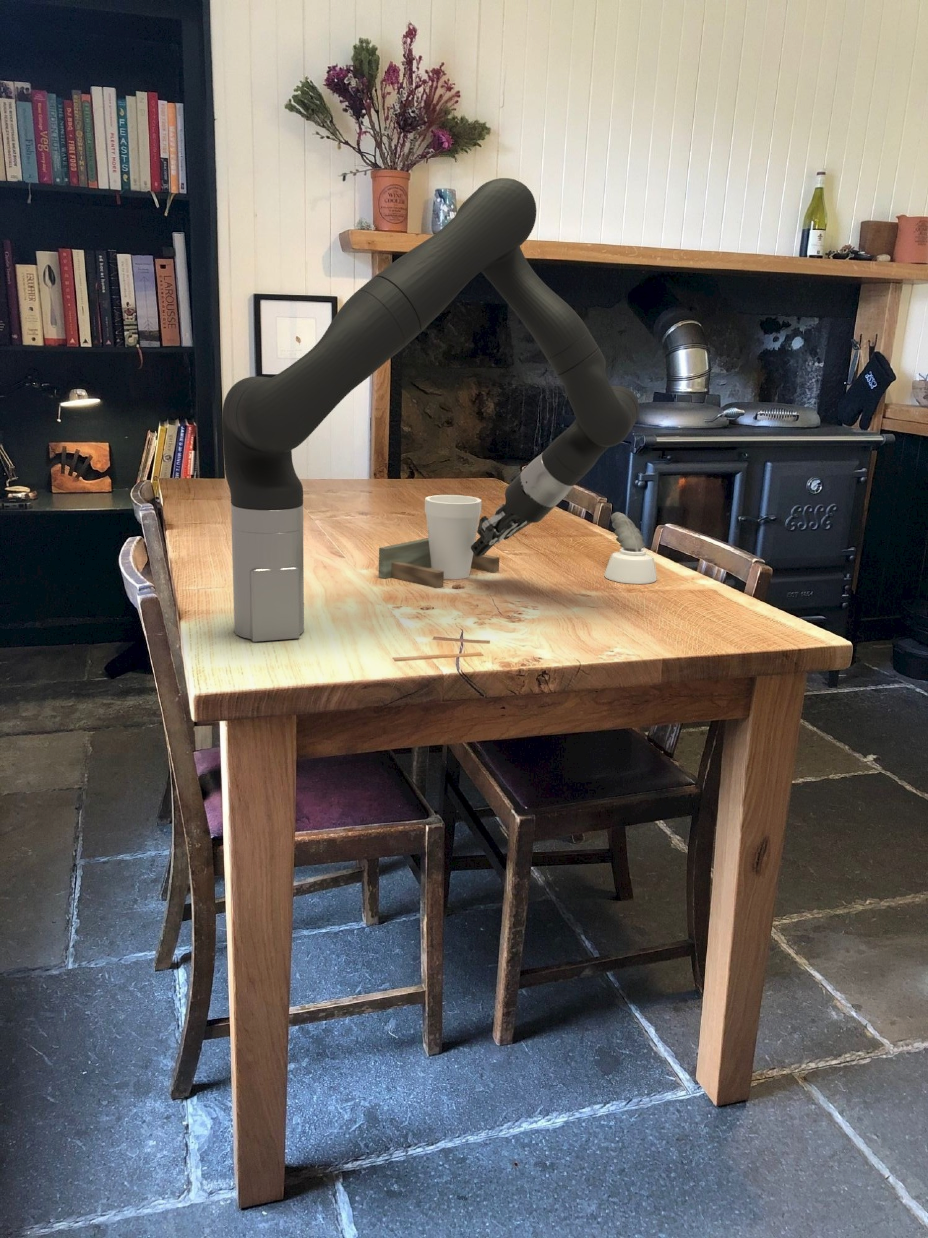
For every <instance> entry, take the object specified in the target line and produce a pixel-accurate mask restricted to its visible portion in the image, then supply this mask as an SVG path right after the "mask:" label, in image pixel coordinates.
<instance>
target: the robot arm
mask: <svg viewBox="0 0 928 1238" xmlns="http://www.w3.org/2000/svg"><path fill="white" fill-rule="evenodd" d="M536 220H537V203H536V201H535V196H534V194H533V193H532V191H531V190H530V189H529V187H527V186H526V185H525V184H524V183H523V182H521V181H519V180H516V179H514V178H509V177H508V178H507V177H506V178H505V177H504V178H503V177H500V178H495V179H491V180H488V181H486V182H485V183H483V184H482V185H480V186H479V187H478V188H477V189H476V190H475V191H474V192H473V193H472V194H471V195H470V196H469V197H468V198H466V200H465V201H464V202H462V204H461V205H460V206H459V208H458V209H457V212H456V213H455V215H454V216H453V218H452V219H450V221H448V222H447V224H445V225H444V226H443V227H442V228H441V229H440V230H438V231H437V232H436V233H435V234H433V235H432V236H430V237H429V238H427V239H426V240H425V241H423V242H421V243H419V244H418V245H417V246H415V247H414V248H412V249H410V250H409V251H408V252H406V253H405V254H403V255H402V256H400V257H399V258H397V259H395V261H393V262H391V263H390V264H389V265H388V266H386V267H385V268H383V270H381V271H379V273H377V274H376V275H374V276H373V277H372V278H371V279H369V280H368V281H367V282H366V283H365V284H364V285H362V286H361V287H360V288H359V289H358V290H357V291H356V292H354V293H353V294H352V295H351V296H350V297H349V298H348V299H347V300H346V301H345V302H344V304H342V306H341V307H340V308H339V310H338V311H337V313H336V315H335V316H334V318H333V319H332V320H331V322H330V324H329V326H328V328H327V329H326V330H325V332H324V334H323V335H322V337H321V338H320V340H319V341H318V342H317V343H316V344H315V345H314V346H312V348H311V349H310V350H309V351H307V352H306V354H304V355H303V356H301V357H300V358H299V359H297V360H296V361H295V362H293V363H292V364H291V365H290V366H287V367H286V368H285V369H284V370H282V371H280V372H279V373H277V374H276V375H274V376H272V377H266V376H248V377H245V378H242V379H240V380H239V381H237V382H236V383H234V384H233V385H232V386H231V388H230V389H229V390H228V392H227V394H226V395H225V399H224V402H223V405H222V414H221V415H222V416H221V417H222V418H221V425H222V426H221V429H222V445H223V448H222V450H223V460H224V461H223V462H224V474H225V479H226V482H227V485H228V488H229V493H230V513H231V514H230V517H231V520H230V521H231V551H232V552H231V553H232V557H231V561H232V588H233V589H232V591H233V598H232V599H233V620H234V621H233V626H234V631H233V632H234V633H235V634H236V635H237V636H239V637H241V638H243V639H244V638H245V639H248V640H251V641H252V642H264V641H265V642H266V641H278V640H291V639H300V637H301V636H300V635H301V634H303V633H304V631H305V602H304V601H305V594H304V593H305V591H304V589H305V586H304V585H305V584H304V583H305V580H304V579H305V577H304V573H305V571H304V570H305V569H304V566H305V565H304V486H303V483H302V481H301V480H300V479H299V477H298V475H297V473H296V470H295V467H294V464H293V453H292V452H293V450H295V448H296V449H297V447H299V446H300V445H301V444H303V443H304V442H305V440H307V439H308V438H309V437H310V436H311V434H313V432H314V431H315V430H316V429H317V428H318V427H319V426H320V425H321V423H323V421H324V420H325V419H326V418H327V417H328V416H329V414H330V413H331V412H333V410H334V409H335V408H336V407H337V406H338V405H339V404H340V403H341V401H342V400H344V398H345V397H347V396H348V395H349V394H350V393H351V392H352V391H353V390H354V389H355V388H357V387H358V386H359V385H361V384H362V383H363V382H364V381H366V380H367V379H368V378H369V377H371V376H372V375H373V374H374V373H375V372H376V371H378V370H379V369H380V368H381V367H382V366H384V364H386V362H388V361H389V360H390V359H392V358H393V357H394V356H395V355H397V354H398V353H399V352H401V351H402V350H403V349H405V347H406V346H408V345H409V343H411V342H412V341H413V340H414V339H415V338H416V337H418V336H419V335H420V334H421V333H422V332H423V331H424V330H425V329H426V328H427V327H428V326H429V325H430V324H431V323H432V322H433V321H434V320H435V319H436V318H437V317H438V316H439V315H440V314H441V313H442V312H443V311H444V310H445V309H446V308H447V307H448V306H449V305H450V304H451V303H452V301H453V300H454V299H455V298H456V297H457V296H458V294H460V292H461V291H462V290H463V289H464V288H465V287H466V286H467V285H468V284H469V282H470V281H472V279H474V278H475V277H476V276H477V275H478V274H480V273H482V274H483V275H484V276H485V278H486V279H487V280H488V281H489V282H490V284H491V285H492V286H493V287H494V288H495V290H496V291H497V292H498V293H499V295H500V296H501V298H503V299H504V301H506V303H507V304H508V305H509V307H510V308H511V309H512V310H513V312H514V313H515V314H516V316H517V317H518V318H519V319H520V321H521V323H522V324H523V325H524V327H526V329H527V330H528V332H529V333H530V334H531V336H532V338H533V339H534V341H535V342H536V343H537V345H538V346H539V348H540V350H541V352H542V353H543V355H544V356H545V358H546V360H547V361H548V363H549V365H550V367H551V368H552V369H553V371H554V373H555V375H556V376H557V377H558V379H559V381H560V382H561V383H562V385H563V387H564V390H565V392H566V393H565V394H566V396H567V398H568V402H569V404H570V406H571V408H572V412H573V414H574V417H575V419H574V421H573V422H572V424H570V425H569V427H568V428H566V429H565V430H564V431H563V432H562V433H561V434H560V435H558V436H557V437H556V438H555V439H554V440H553V441H552V442H551V443H550V444H549V445H548V446H547V447H546V448H545V449H544V451H542V452H541V454H538V456H536V457H535V458H534V459H533V460H531V461H530V462H529V463H528V465H526V466H525V468H524V469H523V470H522V471H520V473H519V474H518V475H517V476H516V477H515V478H514V479H513V481H511V482H510V484H508V486H506V488H505V490H504V496H505V497H504V498H505V504H504V503H503V504H501V505H499V506H498V508H496V509H495V513H494V514H493V515H492V516H491V517H490V518H489V517H487V515H485V516H482V517H480V518H479V523H478V528H477V534H478V536H479V537H478V538H477V539H476V540H475V543H474V544H473V545H472V546H471V550H472V551H473V553H474V554H475V556H476V557H479V556H483V555H484V554H485V555H486V554H487V553H488V551H489V550H491V549H492V548H493V546H495V544H499V543H501V541H502V540H505V541H506V540H509V538H511V537H512V536H514V535H515V534H517V533H518V532H520V531H521V530H523V529H525V528H526V527H528V526H529V525H530V524H534V523H539V522H541V521H542V519H544V518H545V517H546V516H547V515H548V514H549V513H550V512H551V511H552V510H553V509H554V508H555V507H556V506H557V505H558V504H559V503H560V502H561V501H562V500H563V499H564V498H565V497H566V496H567V495H568V494H569V493H570V492H571V490H572V489H573V488H574V487H575V485H576V484H577V483H579V481H581V479H582V478H583V477H585V476H586V474H588V473H589V471H591V469H592V468H593V467H594V466H595V465H596V463H597V462H598V460H599V459H600V457H601V456H602V455H603V454H604V452H606V451H607V450H608V449H609V448H610V447H611V448H612V447H616V446H617V445H619V444H621V443H622V442H623V441H625V439H626V438H627V437H628V435H629V434H630V433H631V430H632V429H633V427H634V426H635V424H636V422H637V420H638V418H639V415H640V414H639V413H640V403H639V399H638V397H637V395H636V393H634V391H632V390H631V389H629V388H628V387H625V386H622V385H611V382H610V381H609V379H608V377H607V374H606V365H607V362H606V359H605V356H604V354H603V352H602V349H601V348H600V347H599V345H598V344H597V342H596V340H595V339H594V336H592V334H591V332H590V330H589V329H588V327H587V325H586V324H585V322H584V321H583V320H582V318H581V317H580V316H579V315H578V313H577V312H576V311H575V310H574V308H572V307H571V305H569V304H568V303H567V302H566V301H565V300H563V299H562V298H561V296H559V295H558V294H557V293H555V292H554V291H553V290H552V289H551V288H550V287H549V286H548V285H546V283H545V282H544V281H543V280H542V279H541V277H539V276H538V275H537V273H536V272H535V270H534V269H533V268H532V266H531V265H530V263H529V262H528V260H527V258H526V257H525V254H524V252H523V250H522V249H521V246H522V245H523V244H524V243H525V241H527V239H529V237H530V235H531V234H532V231H533V229H534V227H535V224H536Z"/></svg>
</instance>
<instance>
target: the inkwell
mask: <svg viewBox="0 0 928 1238" xmlns="http://www.w3.org/2000/svg"><path fill="white" fill-rule="evenodd" d="M610 518H611V522H612V523H611V525H612V528H613V529H615V530H614V535H616V539H615V540H616V542H617V543H618V544H619V546H620V547H621V548H619V551H615V552H613V553H611V555H610V557H609V560H608V562H607V564H606V568H605V570H604V574H603V575H604V577H605V578H606V579H607V580H610V581H612V582H617V583H622V584H630V585H631V584H632V585H644V584H645V585H646V584H653V583H656V581H657V580H658V575H657V574H658V573H657V568H656V563H655V558H654V557H653V555H651V554H648V553H647V551H646V549H645V547H646V543H645V538H644V536H643V535H642V532H641V530H640V529H639V528H638V527H636V525H635V523H634V522H633V521H632V520H631V519H630V518H629V517H628V516H627V515H626V514H624V513H621V512H620V511H615V512H614V513H612V514H611V515H610Z"/></svg>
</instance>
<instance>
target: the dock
mask: <svg viewBox="0 0 928 1238" xmlns="http://www.w3.org/2000/svg"><path fill="white" fill-rule="evenodd" d="M500 559H501V558H500V557H498V556H494V555H489V554H486V553H485V554H484V555H483V556H479V557H476V556H475V554H474V553H473V558H472V563H471V569H475V570H478V571H485V572H488V573H493V574H494V573H495V574H496V573H497V572H498V573H499V572H500ZM378 578H381V579H385V580H386V579H389V578H393V579H397V580H402V581H406V582H410V583H414V584H419V585H423V586H427V587H431V588H436V589H438V588H443V587H444V571H439V570H435V569H432V568H431V558H430V548H429V538H428V537H426V538H425V537H424V538H421V539H416V540H412V541H411V540H410V541H405V542H401V543H396V544H392V545H387V546H383V547H381V546H380V547H378Z"/></svg>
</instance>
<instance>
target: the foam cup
mask: <svg viewBox="0 0 928 1238" xmlns="http://www.w3.org/2000/svg"><path fill="white" fill-rule="evenodd" d="M424 513H425V518H426V526H427V527H426V529H427V536H428V537H427V538H429V548H430V558H431V568H430V569H435V570H439V571H444V579H445V580H463V579H467V578H469V576H470V573H471V569H472V568H471V563H472V558H473V551H472V550H471V546H472V545H473V544H474V543H475V542H476V541H477V539H476V538H477V534H478V533H477V530H478V526H479V521H480V518H481V517H480V516H481V515H482V499H480V498H479V497H475V496H474V497H473V496H470V495H469V496H468V495H460V494H438V495H437V494H435V495H432V496H431V495H429V496H426V497H425V498H424Z"/></svg>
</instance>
